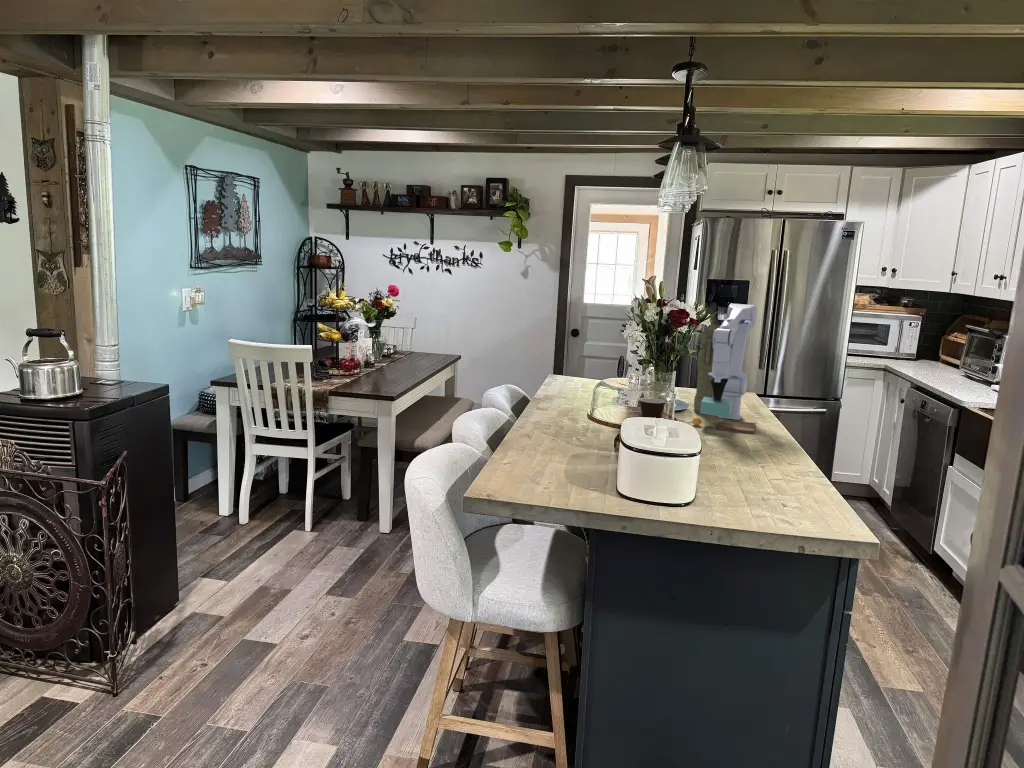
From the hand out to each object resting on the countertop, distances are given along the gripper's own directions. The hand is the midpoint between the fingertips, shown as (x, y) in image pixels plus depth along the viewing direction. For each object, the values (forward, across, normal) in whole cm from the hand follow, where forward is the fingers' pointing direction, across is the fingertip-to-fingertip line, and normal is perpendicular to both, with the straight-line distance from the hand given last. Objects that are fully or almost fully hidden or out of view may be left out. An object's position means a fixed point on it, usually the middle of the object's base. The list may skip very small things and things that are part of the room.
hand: (717, 399), depth 248 cm
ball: (+10, +2, -7) cm, 12 cm away
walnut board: (+10, -3, +7) cm, 13 cm away
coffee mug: (+10, +13, -20) cm, 26 cm away
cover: (+5, 0, 0) cm, 5 cm away
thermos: (+11, -24, -7) cm, 27 cm away
